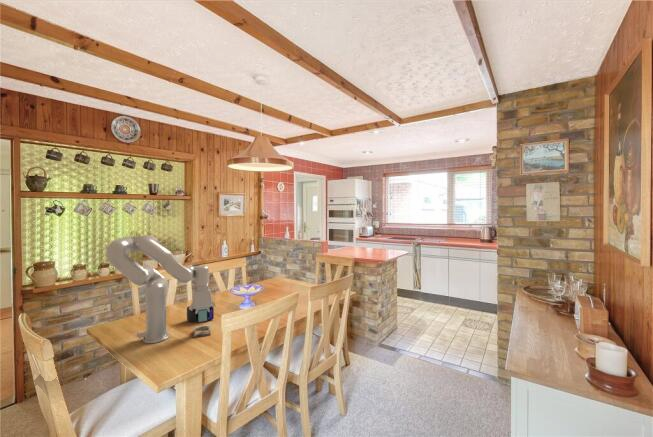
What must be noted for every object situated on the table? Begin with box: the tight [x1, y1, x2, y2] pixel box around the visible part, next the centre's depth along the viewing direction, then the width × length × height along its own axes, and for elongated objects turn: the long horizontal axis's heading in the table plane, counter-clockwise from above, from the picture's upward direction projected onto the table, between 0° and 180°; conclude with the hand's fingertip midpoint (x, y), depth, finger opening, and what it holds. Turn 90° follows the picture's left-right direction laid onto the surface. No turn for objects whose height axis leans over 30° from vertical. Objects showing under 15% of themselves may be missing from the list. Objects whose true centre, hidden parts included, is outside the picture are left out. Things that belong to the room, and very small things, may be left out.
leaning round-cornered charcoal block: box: [186, 305, 215, 323], centre depth 184 cm, size 16×5×9 cm, turn 98°
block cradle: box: [192, 324, 211, 338], centre depth 166 cm, size 9×9×2 cm
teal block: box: [198, 308, 208, 323], centre depth 166 cm, size 4×4×6 cm
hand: (202, 318), depth 166 cm, fingers closed on teal block, 4 cm apart
